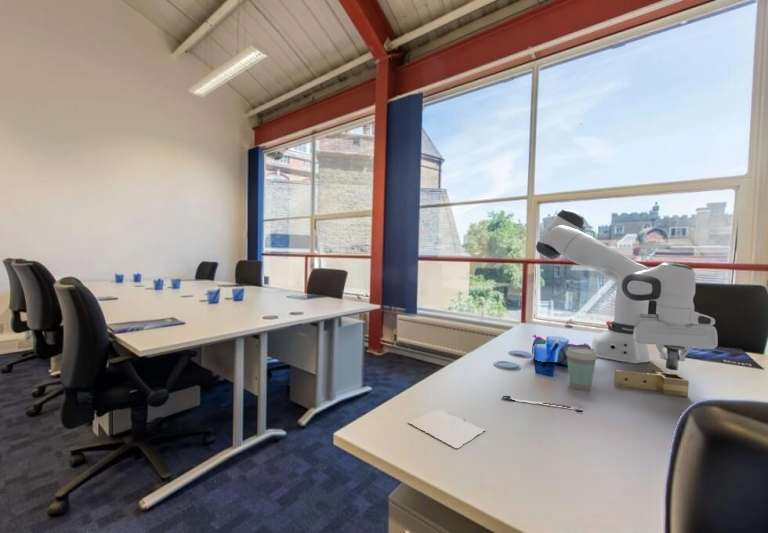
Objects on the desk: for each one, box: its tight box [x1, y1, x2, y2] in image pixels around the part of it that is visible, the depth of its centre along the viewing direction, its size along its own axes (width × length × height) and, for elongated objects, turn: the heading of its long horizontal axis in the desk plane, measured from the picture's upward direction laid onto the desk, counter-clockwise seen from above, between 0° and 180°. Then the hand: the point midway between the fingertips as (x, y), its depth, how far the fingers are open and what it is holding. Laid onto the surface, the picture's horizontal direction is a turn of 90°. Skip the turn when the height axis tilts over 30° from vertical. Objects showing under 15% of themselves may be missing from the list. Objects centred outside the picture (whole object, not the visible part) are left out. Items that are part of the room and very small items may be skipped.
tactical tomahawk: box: [502, 395, 584, 413], centre depth 97 cm, size 21×7×1 cm, turn 68°
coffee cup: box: [566, 347, 598, 391], centre depth 108 cm, size 8×9×12 cm
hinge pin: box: [664, 345, 683, 371], centre depth 104 cm, size 4×4×7 cm
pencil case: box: [531, 334, 594, 367], centre depth 130 cm, size 21×9×10 cm, turn 53°
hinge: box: [613, 360, 690, 397], centre depth 112 cm, size 18×18×5 cm
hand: (672, 359), depth 104 cm, fingers closed on hinge pin, 3 cm apart
